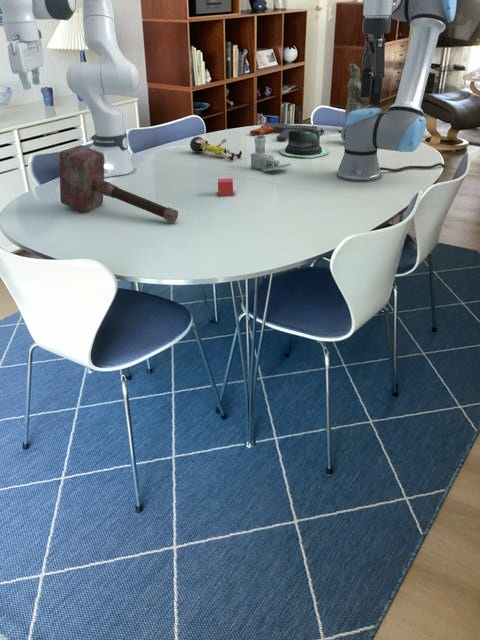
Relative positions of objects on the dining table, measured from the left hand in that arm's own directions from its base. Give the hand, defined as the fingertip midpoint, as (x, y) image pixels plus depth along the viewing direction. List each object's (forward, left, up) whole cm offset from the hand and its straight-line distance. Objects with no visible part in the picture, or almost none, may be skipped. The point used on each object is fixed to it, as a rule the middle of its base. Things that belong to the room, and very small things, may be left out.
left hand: (32, 86), depth 163 cm
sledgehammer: (+25, -1, -36) cm, 44 cm away
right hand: (+95, +27, -5) cm, 99 cm away
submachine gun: (+46, +118, -36) cm, 132 cm away
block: (+50, +27, -36) cm, 67 cm away
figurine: (+27, +74, -36) cm, 87 cm away
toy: (+81, +109, -36) cm, 141 cm away
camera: (+55, +59, -36) cm, 88 cm away
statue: (+76, +136, -36) cm, 160 cm away
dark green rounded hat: (+62, +89, -36) cm, 114 cm away
